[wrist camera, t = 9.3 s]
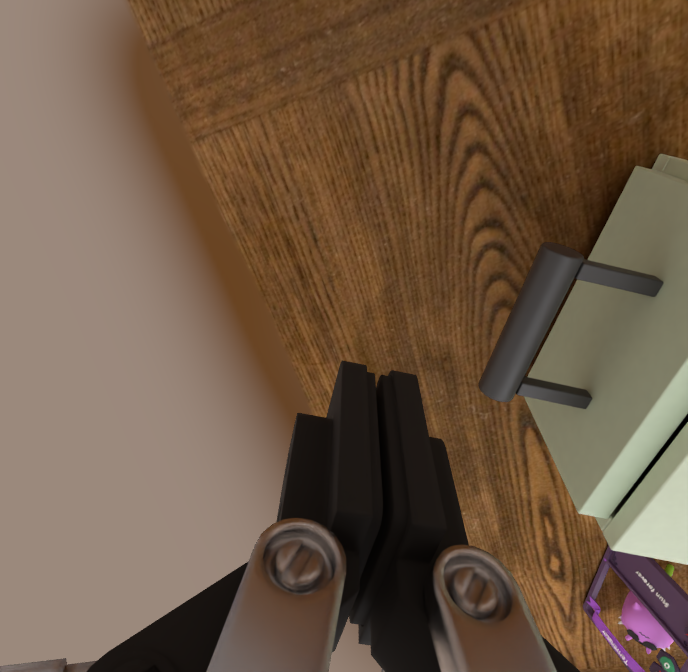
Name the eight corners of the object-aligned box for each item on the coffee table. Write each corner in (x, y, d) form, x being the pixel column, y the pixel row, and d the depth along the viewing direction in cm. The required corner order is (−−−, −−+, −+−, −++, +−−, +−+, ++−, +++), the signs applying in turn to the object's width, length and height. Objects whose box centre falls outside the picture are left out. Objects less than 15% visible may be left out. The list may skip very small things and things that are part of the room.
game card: (703, 635, 25) (649, 715, 29) (776, 605, 26) (713, 686, 30) (606, 530, 30) (573, 610, 35) (670, 510, 31) (630, 590, 36)
